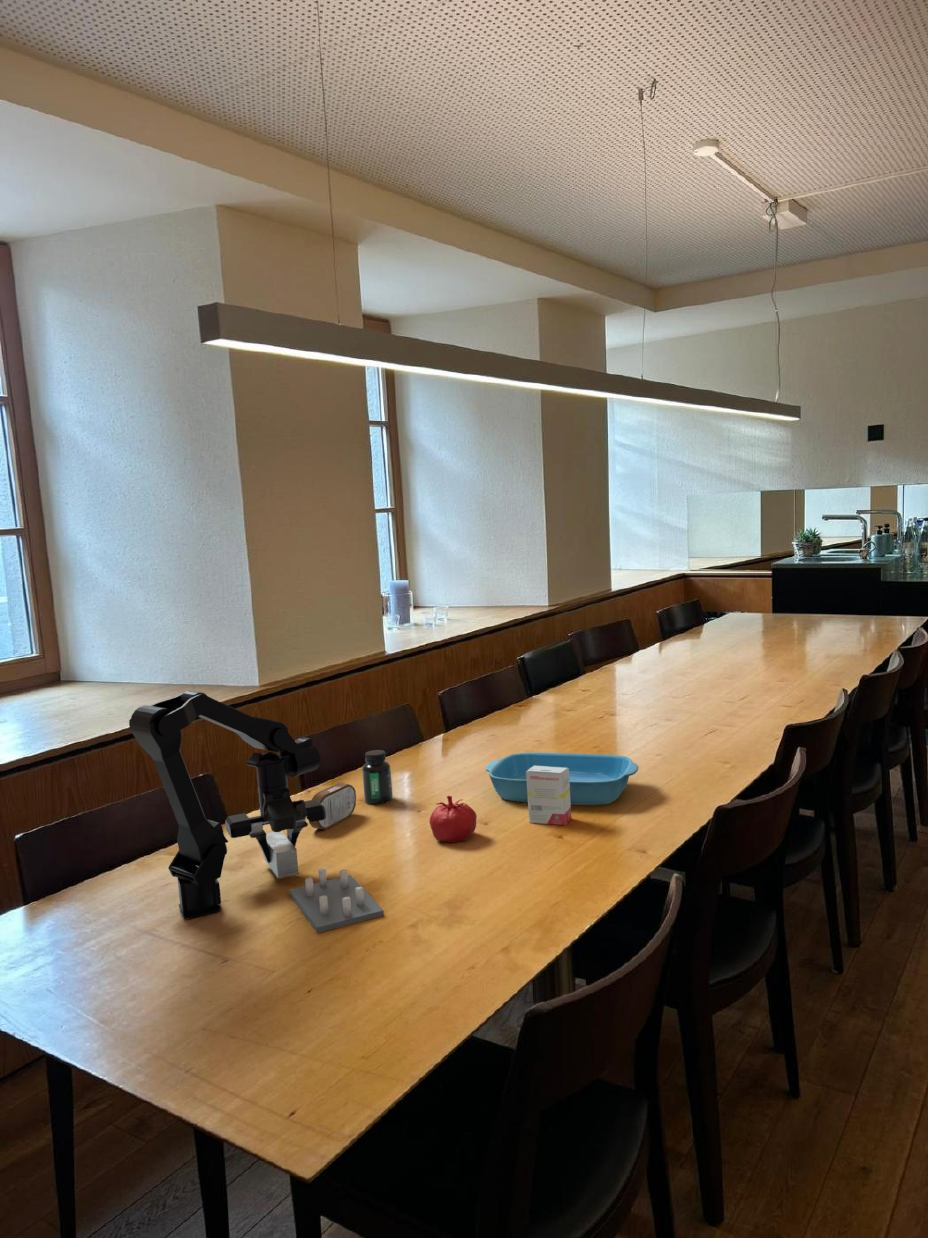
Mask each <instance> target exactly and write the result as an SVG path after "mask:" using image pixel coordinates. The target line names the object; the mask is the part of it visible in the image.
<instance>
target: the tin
mask: <svg viewBox="0 0 928 1238" xmlns="http://www.w3.org/2000/svg"><path fill="white" fill-rule="evenodd" d="M314 799H316V800H317V801H319V802H320V803H321V804H322V805H323V806H324V808H325V812H326V819H324V820H320V821H315V822H311V821H309V820H308V819H307V821H308V824H309V825H310V826H311V827H312V828H313V829H319V830H328V829H330V828H331V827H333V826H336V825H338V824H339V823H341V822H343V821H345V820H347V819H348V818H350V817H351V815H352V814H353V813H354V811H355V809H356V806H357V793H356V789H355V787H354V786H353V785H351V784H348V783H344V782H337V783H335V784H332V785H331V786H329V787H326V788H324V789H322V790H319V791H318V792H316V793H315V794H314V795H313V796H312V798H311V800H314Z"/></svg>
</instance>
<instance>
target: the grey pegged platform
mask: <svg viewBox="0 0 928 1238" xmlns="http://www.w3.org/2000/svg"><path fill="white" fill-rule="evenodd" d="M317 871H318V881H319V882H316V883H314V878H312V877H307V878H305V879H304V883H305V885H303V886H299V887H295V888H291V889H289V895H290V897H291V899H292V900H293V901H294V903H295V904H296V905H297V907H298V908H299V909H300V911H301V912H302V914H303V915H304V916H305V918H306V919H307V921H308V922H309V924H310V925H311V927H313V929H314V931H315V932H316V933H317V934H321V933H323V932H327V931H331V930H334V929H338V928H342V927H346V926H349V925H354V924H357V923H362V922H366V921H369V920H372V919H377V918H380V917H383V916H385V911H384V909H383V908H382V907H381V906H380V904H378V902H376V900H375V899H374V898H373V897H372V896H371V895H370V894H369V892H367V890H365V888H364V887H363V886H362V885H361V884H360V883H359V882H358V881H357V880H356V879H355V878H354V877H353V875H352V874H349V875H348V869H341V870H339V877H337V878H333V879H327V869H326V868H319V869H318V870H317Z"/></svg>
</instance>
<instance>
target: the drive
mask: <svg viewBox="0 0 928 1238" xmlns="http://www.w3.org/2000/svg"><path fill="white" fill-rule="evenodd" d="M266 840H267V844H268V849H269V854H270V863H268V862H267V860H266V858H265V856H264V854H263V853H262V854H263V855H262V857H263V860H264V861H265V862H266V863H267V865H268V866H269V868H270V869H271V871H272V872H273V874H274V875H275V877H276V878H277V879H283V878H286V877H291V876H295V875H299V865H298V863H299V861H298V853H297V848H296V846H295V847H294V845H293V844H292V843H291V842H290V841H289V839H288V838H287V835H286V834H285V833H284V832H283V830H282V831H281V832H273V831H271V832H266Z"/></svg>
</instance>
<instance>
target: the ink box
mask: <svg viewBox="0 0 928 1238" xmlns="http://www.w3.org/2000/svg"><path fill="white" fill-rule="evenodd" d="M526 778H527V794H528V802H527V804H528V805H527V806H528V808H527V809H528V821H529V823H530V824H540V825H541V824H543V825H554V826H555V825H557V826H566V825H568V823H569V822H570V821H571V819H572V807H571V806H572V805H571V802H570V782H569V768H562V767H548V766H533V767H531V768H530V769H529V770H528V771H526Z"/></svg>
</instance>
